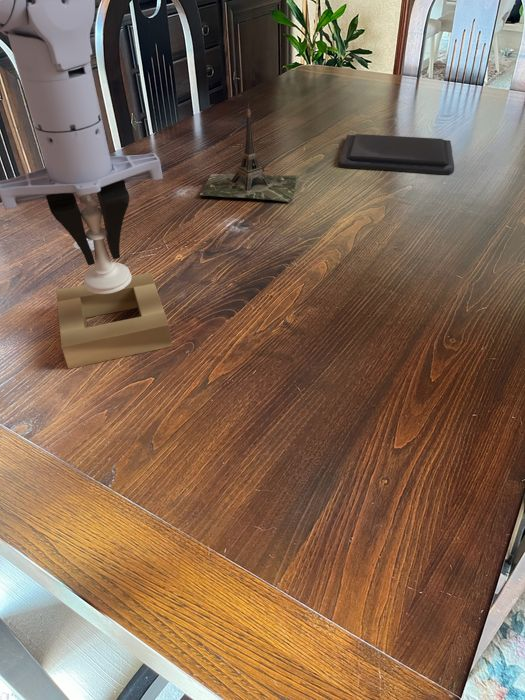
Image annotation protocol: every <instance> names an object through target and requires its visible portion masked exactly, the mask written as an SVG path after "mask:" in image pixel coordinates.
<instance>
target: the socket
mask: <svg viewBox="0 0 525 700" xmlns="http://www.w3.org/2000/svg"><path fill="white" fill-rule="evenodd" d="M131 276H132V279H131V282H130V283H129V284H128V285H127V286H126V287H125V288H123V289H122V290H120V291H117V292H114V293H110V294H96V293H92V292H90V291H88V290H87V289H86V288H85V285H84V284H80V285H75V286H69V287H65V288H59V289H56V290H55V292H56V302H57V304H56V305H57V314H58V324H59V325H58V326H59V336H60V347H61V351H62V354H63V357H64V360H65V363H66V366H67V369H68V370H70V369H75V368H79V367H84V366H89V365H94V364H98V363H102V362H107V361H111V360H116V359H121V358H125V357H130V356H134V355H135V356H136V355H139V354H143V353H147V352H148V353H149V352H153V351H158V350H162V349H167V348H172V347H173V342H172V335H171V330H170V324H169V321H168V318H167V315H166V312H165V309H164V306H163V303H162V300H161V298H160V294H159V292H158V289H157V287H156V282H155V280H154V277H153V274H152V272H150V271H149V272H146V273H139V274H135V275H131ZM134 309H137V311H138V315H139V316H137V317H136V316H135V317H132V318H128V319H122V320H117V321H112V322H107V323H101V324H98V325H93V326H92V325H91V326H88V324H87V319H88V318H93V317H98V316H99V317H100V316H103V315H108V314H114V313H118V312H119V313H120V312H123V311H129V310H134Z"/></svg>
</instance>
